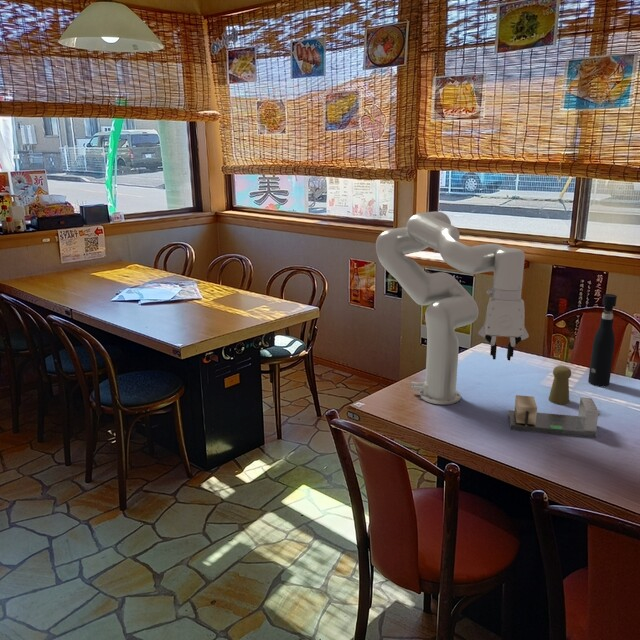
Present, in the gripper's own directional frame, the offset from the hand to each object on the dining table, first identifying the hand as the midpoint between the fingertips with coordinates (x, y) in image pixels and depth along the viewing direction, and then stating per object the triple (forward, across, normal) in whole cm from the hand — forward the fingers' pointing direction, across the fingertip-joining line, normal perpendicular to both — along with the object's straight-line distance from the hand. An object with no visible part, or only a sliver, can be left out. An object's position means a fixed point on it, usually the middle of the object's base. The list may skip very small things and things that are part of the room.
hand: (501, 357), depth 168 cm
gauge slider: (+17, +8, 0) cm, 19 cm away
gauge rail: (+19, +15, 0) cm, 24 cm away
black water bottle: (+19, +35, +37) cm, 54 cm away
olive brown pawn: (+19, +20, +19) cm, 34 cm away
